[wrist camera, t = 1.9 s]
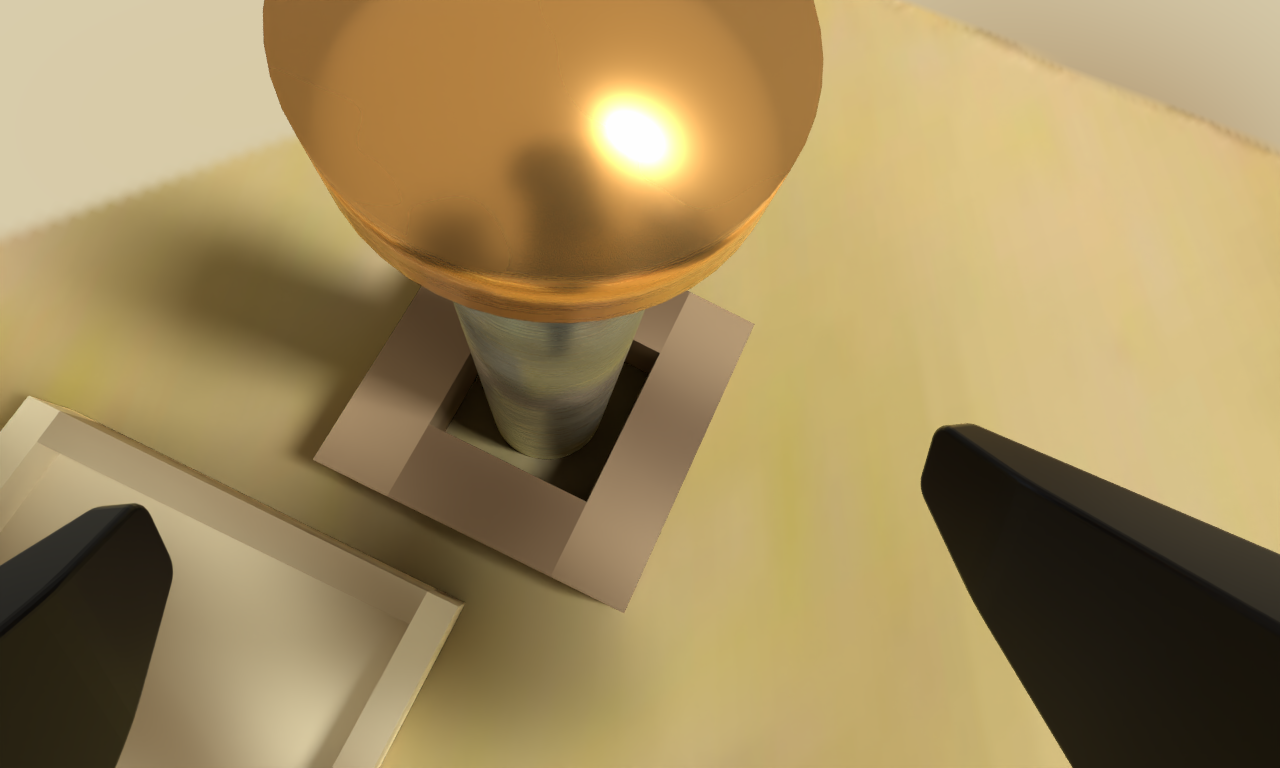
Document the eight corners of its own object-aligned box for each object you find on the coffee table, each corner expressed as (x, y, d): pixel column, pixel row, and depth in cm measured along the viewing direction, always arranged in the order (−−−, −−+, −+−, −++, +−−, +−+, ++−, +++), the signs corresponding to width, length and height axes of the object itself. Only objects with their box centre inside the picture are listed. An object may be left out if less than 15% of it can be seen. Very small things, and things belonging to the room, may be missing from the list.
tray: (202, 1108, 14) (163, 1169, 13) (-281, 875, 14) (-375, 911, 13) (465, 602, 17) (458, 606, 16) (71, 409, 17) (28, 395, 16)
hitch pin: (584, 513, 18) (694, 381, 5) (435, 440, 18) (134, 101, 5) (653, 372, 20) (893, -45, 6) (514, 303, 20) (449, -269, 6)
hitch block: (615, 607, 18) (623, 613, 16) (337, 471, 18) (312, 459, 16) (734, 346, 20) (754, 324, 18) (488, 224, 20) (482, 188, 18)
